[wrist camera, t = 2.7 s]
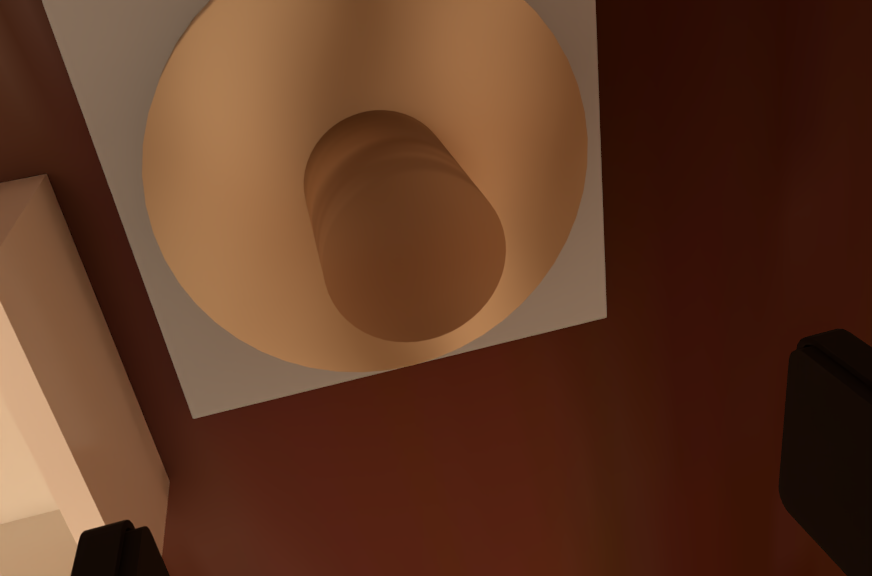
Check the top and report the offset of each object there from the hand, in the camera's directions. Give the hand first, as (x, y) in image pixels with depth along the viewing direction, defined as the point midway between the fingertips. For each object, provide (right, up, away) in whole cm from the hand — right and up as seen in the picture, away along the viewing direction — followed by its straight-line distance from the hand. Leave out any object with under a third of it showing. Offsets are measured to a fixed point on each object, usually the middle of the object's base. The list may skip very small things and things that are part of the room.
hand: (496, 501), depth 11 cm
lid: (-3, +6, +11) cm, 13 cm away
